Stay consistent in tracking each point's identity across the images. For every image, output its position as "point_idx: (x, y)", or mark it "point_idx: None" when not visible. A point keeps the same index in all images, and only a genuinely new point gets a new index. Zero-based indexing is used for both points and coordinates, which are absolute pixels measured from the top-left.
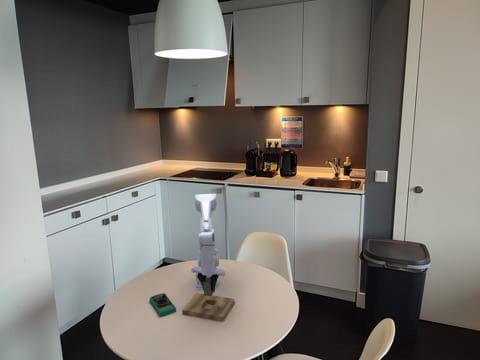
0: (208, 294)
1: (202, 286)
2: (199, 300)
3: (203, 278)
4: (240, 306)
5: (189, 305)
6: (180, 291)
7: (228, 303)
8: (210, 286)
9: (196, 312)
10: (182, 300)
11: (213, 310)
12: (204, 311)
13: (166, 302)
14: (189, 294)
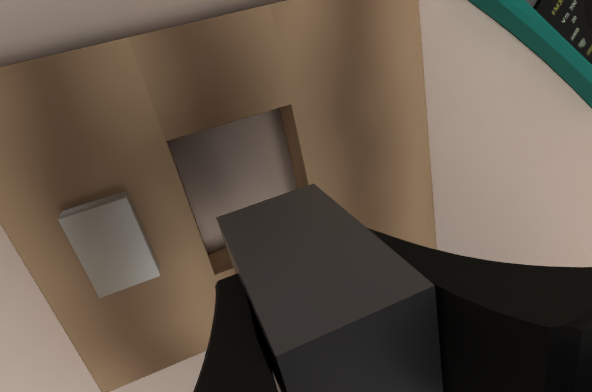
0: (256, 214)
1: (397, 240)
2: (359, 186)
3: (488, 353)
4: (17, 363)
5: (392, 72)
6: (537, 217)
7: (90, 312)
8: (254, 303)
9: (265, 6)
10: (480, 143)
11: (130, 133)
12: (200, 63)
13: (578, 2)
14: (472, 227)
